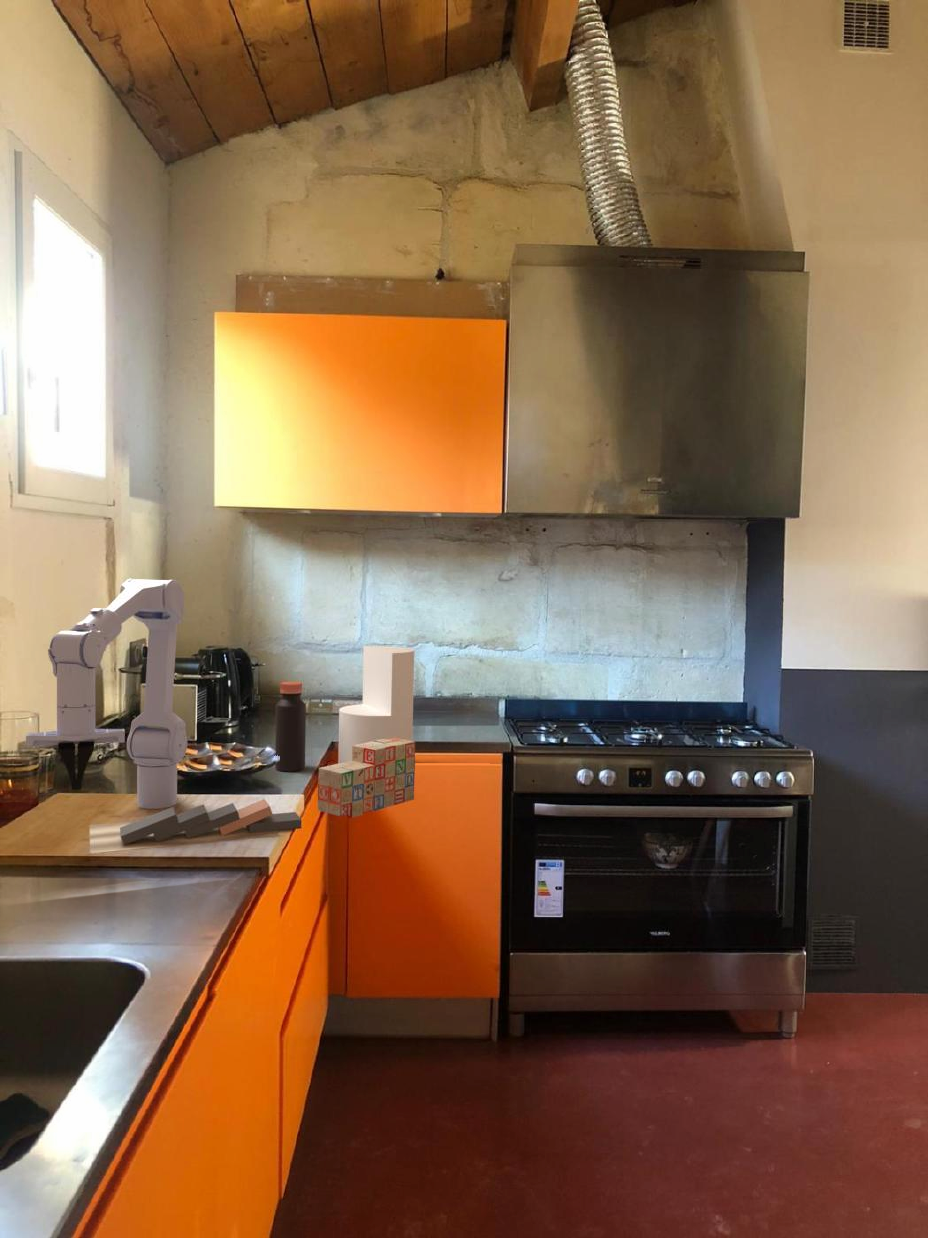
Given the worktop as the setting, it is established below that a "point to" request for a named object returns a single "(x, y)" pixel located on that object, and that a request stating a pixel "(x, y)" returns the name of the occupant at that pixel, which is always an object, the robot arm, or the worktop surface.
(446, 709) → the worktop surface
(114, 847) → the birch board
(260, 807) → the domino
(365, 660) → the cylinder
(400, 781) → the stack of blocks
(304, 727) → the bottle
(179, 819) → the domino
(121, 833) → the domino
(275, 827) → the end domino
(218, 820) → the domino
